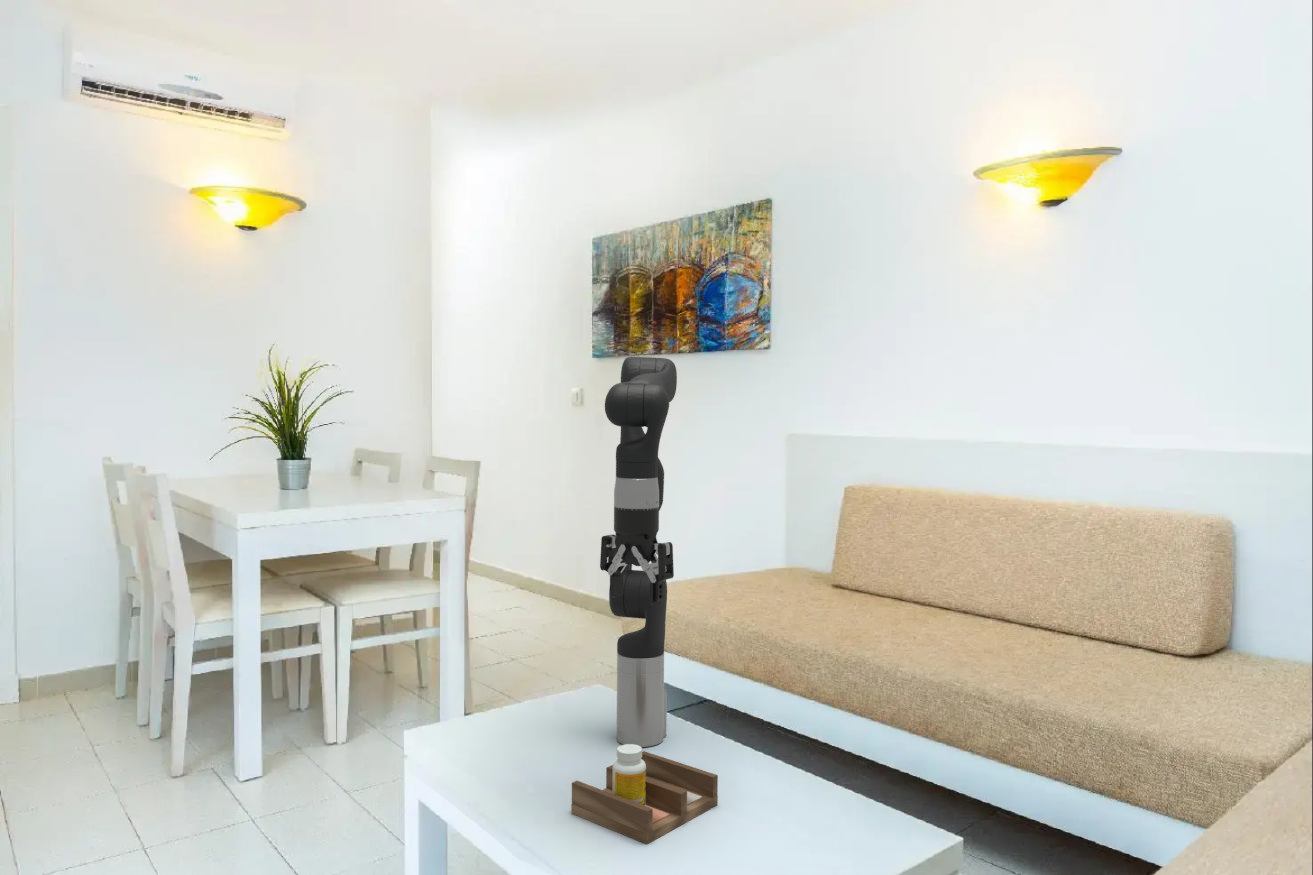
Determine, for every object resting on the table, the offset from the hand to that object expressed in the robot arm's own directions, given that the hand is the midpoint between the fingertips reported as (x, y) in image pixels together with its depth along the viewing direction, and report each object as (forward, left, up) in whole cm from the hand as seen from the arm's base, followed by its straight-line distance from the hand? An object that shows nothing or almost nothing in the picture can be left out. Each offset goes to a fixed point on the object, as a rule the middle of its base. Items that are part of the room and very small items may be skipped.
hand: (635, 600), depth 158 cm
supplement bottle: (+7, +5, -32) cm, 33 cm away
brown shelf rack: (+3, +5, -33) cm, 34 cm away
